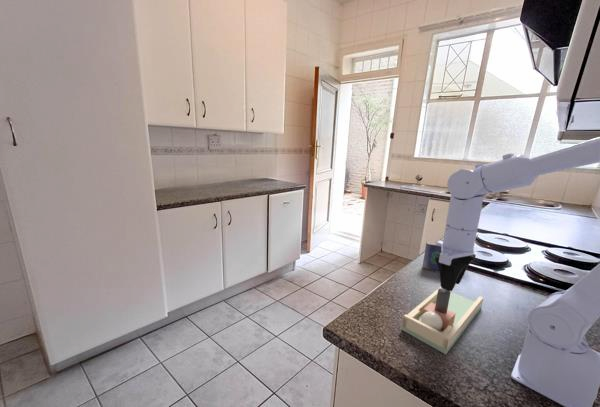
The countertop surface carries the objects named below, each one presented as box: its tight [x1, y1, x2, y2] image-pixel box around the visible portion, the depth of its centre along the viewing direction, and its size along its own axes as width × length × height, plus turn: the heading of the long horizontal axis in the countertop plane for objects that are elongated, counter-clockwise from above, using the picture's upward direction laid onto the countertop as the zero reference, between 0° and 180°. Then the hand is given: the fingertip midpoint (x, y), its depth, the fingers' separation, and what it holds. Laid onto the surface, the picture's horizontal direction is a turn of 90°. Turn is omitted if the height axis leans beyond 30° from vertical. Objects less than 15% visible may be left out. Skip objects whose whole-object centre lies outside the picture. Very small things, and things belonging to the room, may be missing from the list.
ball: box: [421, 311, 442, 331], centre depth 56 cm, size 4×4×4 cm
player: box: [423, 287, 456, 330], centre depth 58 cm, size 5×4×7 cm
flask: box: [421, 238, 444, 273], centre depth 86 cm, size 9×3×11 cm, turn 61°
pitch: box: [401, 286, 484, 355], centre depth 62 cm, size 9×24×4 cm, turn 132°
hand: (450, 285), depth 59 cm, fingers open, 4 cm apart
